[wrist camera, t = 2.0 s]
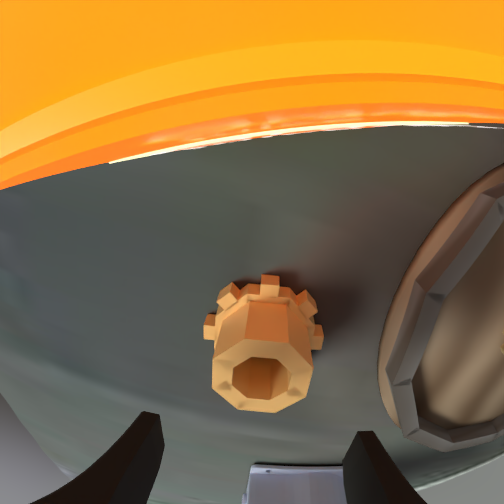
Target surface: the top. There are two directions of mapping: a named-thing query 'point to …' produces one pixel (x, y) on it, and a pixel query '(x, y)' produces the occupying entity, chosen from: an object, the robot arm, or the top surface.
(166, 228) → the top surface
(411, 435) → the wooden tray
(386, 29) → the orange juice
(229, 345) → the planet gear
